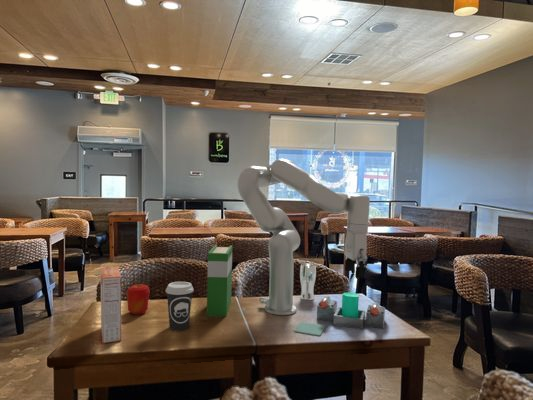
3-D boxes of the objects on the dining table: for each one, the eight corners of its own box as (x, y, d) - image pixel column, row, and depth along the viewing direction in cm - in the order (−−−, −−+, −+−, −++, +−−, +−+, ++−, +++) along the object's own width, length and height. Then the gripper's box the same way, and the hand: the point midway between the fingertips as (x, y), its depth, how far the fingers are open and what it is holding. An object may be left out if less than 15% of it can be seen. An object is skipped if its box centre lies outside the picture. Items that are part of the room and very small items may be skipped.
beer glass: (314, 301, 166) (315, 266, 166) (298, 299, 168) (299, 265, 167) (315, 296, 173) (316, 263, 172) (300, 295, 175) (301, 262, 174)
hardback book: (213, 301, 163) (214, 245, 161) (231, 301, 163) (232, 245, 161) (206, 316, 145) (207, 253, 144) (226, 316, 145) (227, 253, 144)
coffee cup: (198, 324, 137) (198, 282, 136) (184, 334, 128) (184, 289, 127) (174, 320, 140) (175, 279, 139) (159, 330, 131) (159, 286, 130)
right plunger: (369, 315, 135) (370, 307, 135) (371, 309, 142) (371, 301, 142) (378, 317, 134) (379, 308, 134) (380, 310, 141) (380, 302, 141)
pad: (294, 331, 132) (294, 330, 132) (300, 322, 141) (300, 321, 141) (319, 336, 129) (320, 335, 129) (325, 326, 138) (325, 325, 138)
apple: (135, 307, 152) (135, 278, 151) (154, 310, 150) (154, 280, 149) (121, 315, 144) (121, 284, 143) (141, 317, 142) (141, 286, 141)
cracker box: (100, 327, 131) (100, 267, 130) (119, 325, 134) (119, 266, 133) (100, 344, 118) (101, 277, 117) (121, 341, 121) (122, 275, 120)
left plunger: (319, 308, 141) (319, 300, 141) (323, 302, 148) (323, 294, 148) (327, 309, 140) (327, 301, 140) (330, 303, 147) (331, 295, 147)
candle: (348, 326, 138) (349, 293, 138) (338, 320, 144) (339, 289, 143) (361, 323, 141) (362, 291, 141) (350, 318, 147) (351, 287, 146)
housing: (314, 322, 142) (315, 307, 141) (321, 311, 154) (322, 297, 153) (382, 332, 134) (383, 316, 133) (384, 320, 145) (385, 305, 145)
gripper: (339, 224, 149) (336, 268, 150) (357, 231, 132) (354, 280, 133) (357, 225, 151) (354, 268, 152) (377, 232, 134) (374, 280, 135)
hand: (354, 274), depth 142 cm, fingers open, 9 cm apart
